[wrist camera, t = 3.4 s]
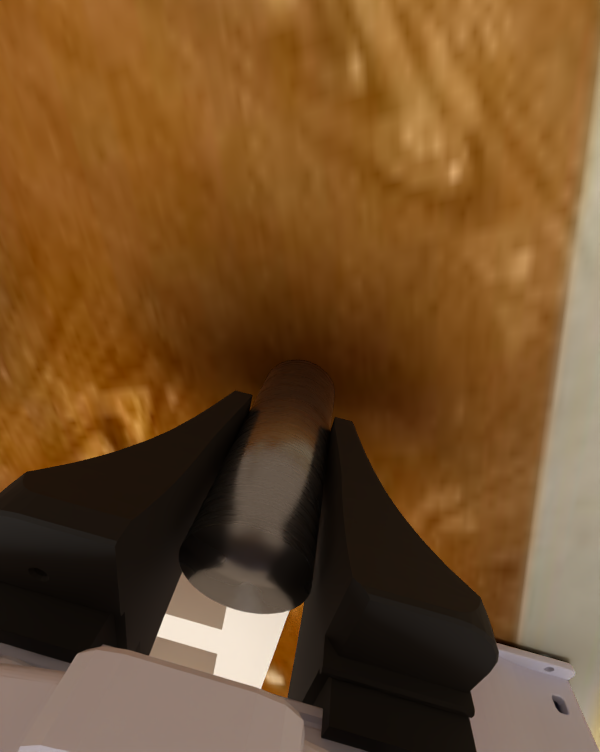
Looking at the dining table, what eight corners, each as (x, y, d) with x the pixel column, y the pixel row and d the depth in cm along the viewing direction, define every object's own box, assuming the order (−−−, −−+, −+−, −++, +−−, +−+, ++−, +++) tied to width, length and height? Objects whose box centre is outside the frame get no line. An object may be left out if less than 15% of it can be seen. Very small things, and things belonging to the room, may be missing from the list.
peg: (342, 370, 14) (327, 550, 7) (324, 428, 15) (296, 626, 8) (270, 351, 14) (181, 510, 7) (260, 411, 15) (175, 592, 8)
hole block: (312, 500, 17) (301, 578, 14) (267, 636, 24) (252, 711, 20) (125, 449, 18) (67, 512, 14) (132, 597, 24) (94, 664, 21)
